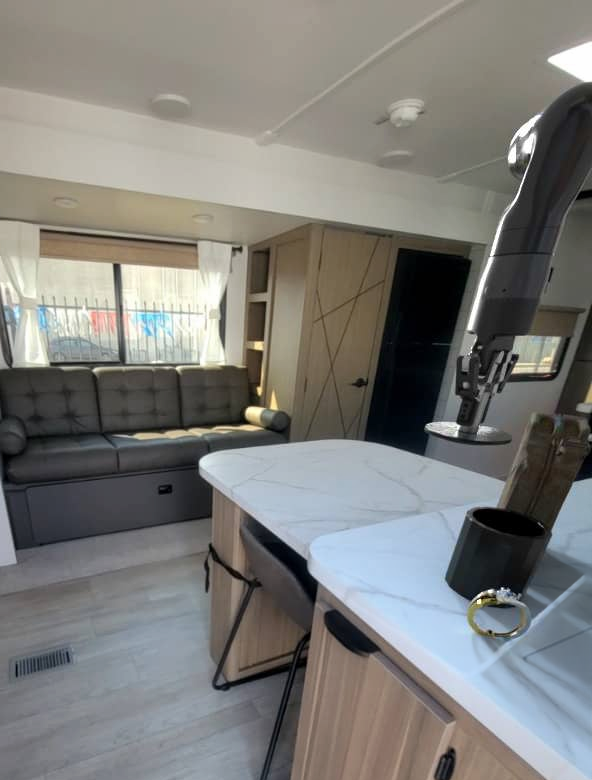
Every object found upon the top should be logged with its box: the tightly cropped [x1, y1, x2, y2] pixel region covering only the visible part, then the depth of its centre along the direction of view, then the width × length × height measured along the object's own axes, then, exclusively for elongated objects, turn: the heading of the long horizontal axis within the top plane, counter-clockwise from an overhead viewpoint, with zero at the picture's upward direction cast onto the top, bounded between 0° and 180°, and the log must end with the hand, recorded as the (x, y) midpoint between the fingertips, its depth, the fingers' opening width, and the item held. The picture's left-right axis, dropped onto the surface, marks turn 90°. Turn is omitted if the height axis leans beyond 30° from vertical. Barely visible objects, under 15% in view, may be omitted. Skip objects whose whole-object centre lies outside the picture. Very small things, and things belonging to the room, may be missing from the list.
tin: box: [444, 506, 553, 610], centre depth 63 cm, size 11×11×12 cm
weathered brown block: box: [495, 411, 592, 531], centre depth 72 cm, size 19×8×25 cm, turn 143°
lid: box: [423, 390, 513, 446], centre depth 61 cm, size 12×12×7 cm
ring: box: [466, 587, 532, 642], centre depth 54 cm, size 7×3×8 cm, turn 62°
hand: (469, 423), depth 62 cm, fingers closed on lid, 3 cm apart
